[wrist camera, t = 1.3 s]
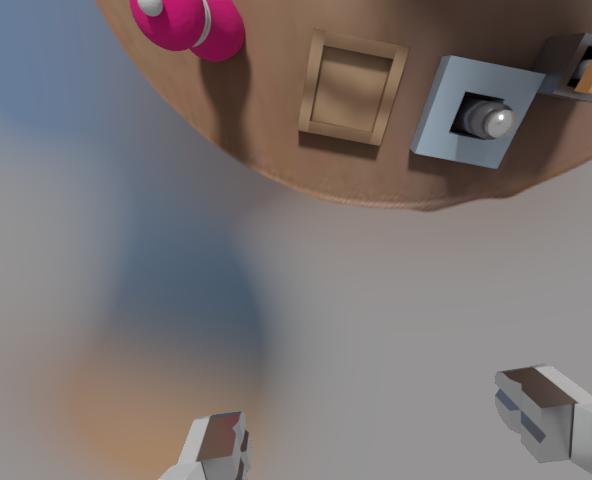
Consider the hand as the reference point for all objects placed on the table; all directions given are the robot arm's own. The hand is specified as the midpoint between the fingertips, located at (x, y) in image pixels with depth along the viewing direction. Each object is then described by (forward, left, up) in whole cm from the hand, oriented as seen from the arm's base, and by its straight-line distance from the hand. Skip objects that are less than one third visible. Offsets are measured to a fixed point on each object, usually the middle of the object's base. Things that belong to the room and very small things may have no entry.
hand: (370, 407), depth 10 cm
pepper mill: (-11, -17, -41) cm, 46 cm away
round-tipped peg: (-7, +18, -41) cm, 45 cm away
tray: (-7, +1, -41) cm, 42 cm away
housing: (-14, +27, -41) cm, 51 cm away
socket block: (-7, +18, -41) cm, 45 cm away
